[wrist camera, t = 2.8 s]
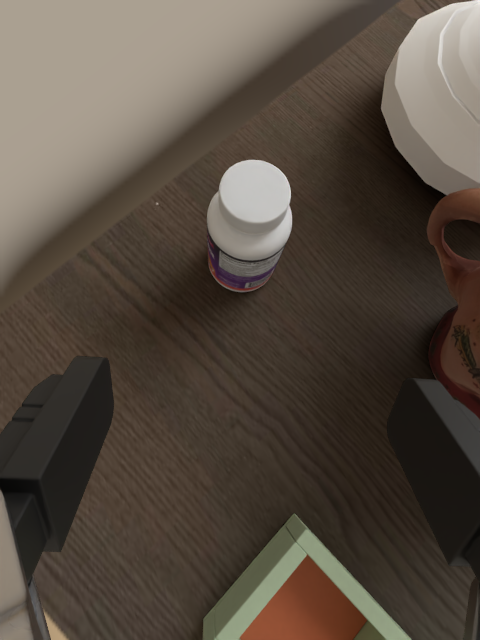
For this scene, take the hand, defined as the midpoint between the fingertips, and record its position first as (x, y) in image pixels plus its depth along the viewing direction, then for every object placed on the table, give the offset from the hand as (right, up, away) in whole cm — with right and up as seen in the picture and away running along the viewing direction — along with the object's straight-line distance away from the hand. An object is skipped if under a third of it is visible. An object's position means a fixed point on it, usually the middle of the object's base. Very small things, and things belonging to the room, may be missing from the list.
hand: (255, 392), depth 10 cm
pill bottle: (0, +7, +19) cm, 20 cm away
